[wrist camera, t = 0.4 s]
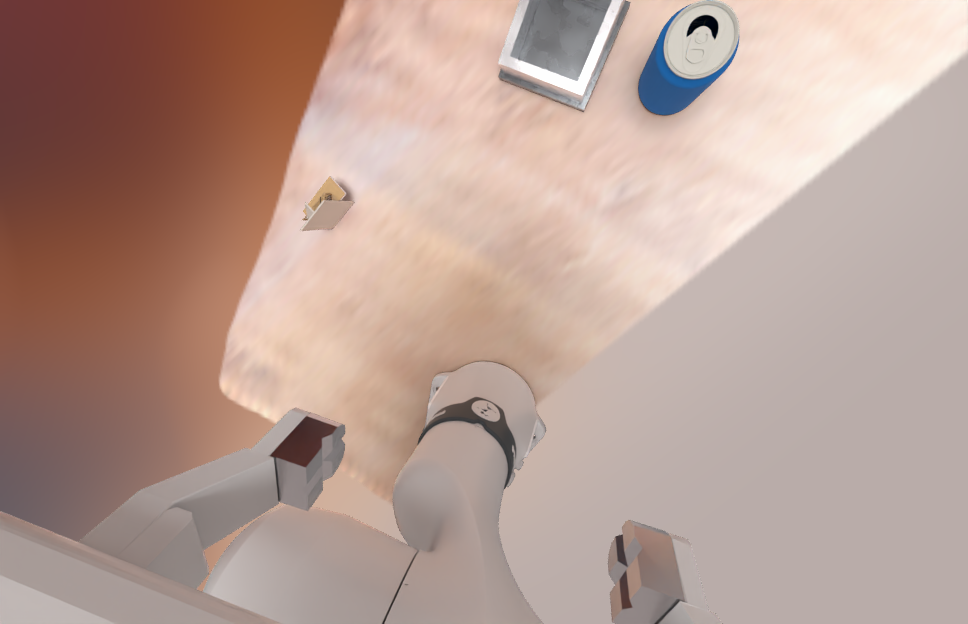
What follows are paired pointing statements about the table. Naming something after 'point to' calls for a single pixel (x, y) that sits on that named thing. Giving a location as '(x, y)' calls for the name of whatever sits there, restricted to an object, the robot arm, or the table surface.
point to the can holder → (561, 47)
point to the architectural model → (326, 207)
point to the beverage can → (689, 56)
